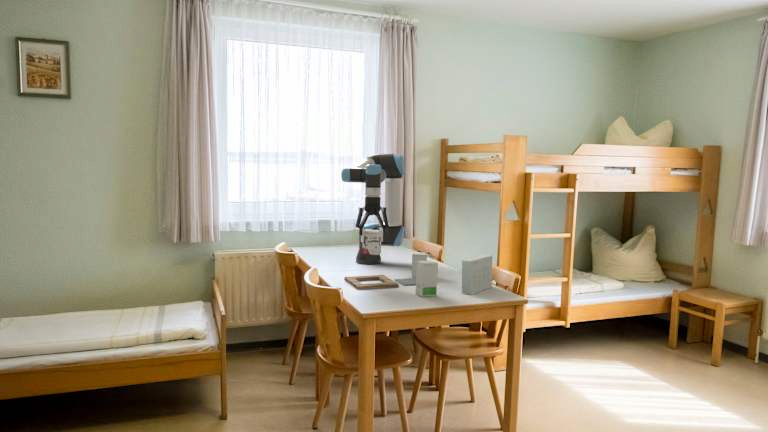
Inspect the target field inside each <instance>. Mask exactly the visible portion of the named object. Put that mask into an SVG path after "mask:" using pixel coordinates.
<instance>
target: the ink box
mask: <svg viewBox="0 0 768 432" xmlns="http://www.w3.org/2000/svg"><path fill="white" fill-rule="evenodd" d="M381 235H382V231H381V230H373V229H365V230H364V242H362V254H372V255H379V254H380V255H381V254H382V245H381Z"/></svg>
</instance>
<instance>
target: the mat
mask: <svg viewBox="0 0 768 432" xmlns="http://www.w3.org/2000/svg"><path fill="white" fill-rule="evenodd" d="M394 282H396V283H398V284H400V285H402V286H403V287H406V286H416V278H412V277H410V278H396V279H395V278H394Z"/></svg>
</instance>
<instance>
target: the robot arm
mask: <svg viewBox="0 0 768 432" xmlns="http://www.w3.org/2000/svg"><path fill="white" fill-rule="evenodd" d="M340 175H341V181H342V182H344V183H363V184H365V189H364V190H365V192H364V194H365V195H364V196H365V198H364V206H363V207H358V214H357V219H356V223H355V228H357V229H359V230H358V231H359V232H358V235H359V236H358V242H359V243H358V251H357V254H356V257H355V263H356V264H361V265H378V264H381V263H382V257H381V254H379V255H372V254H362V242H364V230H365V229H373V230H381V231H382V235H381V247H382V246H385V247H386V246H387V247H401V246H402V244H403V241H404V238H405V227H404V226H403V223H402V222H401V221H400V199H401V198H400V197H401V196H400V193H401V192H400V191H401V190H400V189H401V188H400V187H401V186H400V185H401V180H402V179H403V176H404V175H406V162H405V157H404V156H403V155H402V154H399V153H398V154H397V153H374V154H370V155H367V156H365V157H363V158H361V159H360V160H359V162H358V163H356V164H354V165H353V166H352V167H351V166H347V167H343V168H342V169H341V174H340ZM383 182H384V206H381V193H382V192H381V191H382V190H381V186H382V183H383ZM380 211H381V214H382V217H381V214H380ZM364 212H365V214H364V216H363V213H364ZM370 216H375V217H376V219H377V220H378V222H379V223H378V222H371V223H367V221H368V219H369V217H370Z"/></svg>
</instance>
